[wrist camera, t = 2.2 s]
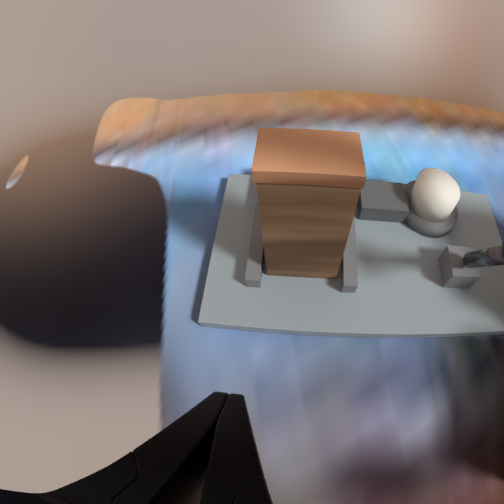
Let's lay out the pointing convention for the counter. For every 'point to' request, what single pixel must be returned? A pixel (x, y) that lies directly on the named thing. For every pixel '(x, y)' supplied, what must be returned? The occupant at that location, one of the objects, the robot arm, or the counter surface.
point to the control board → (365, 268)
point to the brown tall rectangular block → (307, 198)
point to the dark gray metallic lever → (484, 257)
